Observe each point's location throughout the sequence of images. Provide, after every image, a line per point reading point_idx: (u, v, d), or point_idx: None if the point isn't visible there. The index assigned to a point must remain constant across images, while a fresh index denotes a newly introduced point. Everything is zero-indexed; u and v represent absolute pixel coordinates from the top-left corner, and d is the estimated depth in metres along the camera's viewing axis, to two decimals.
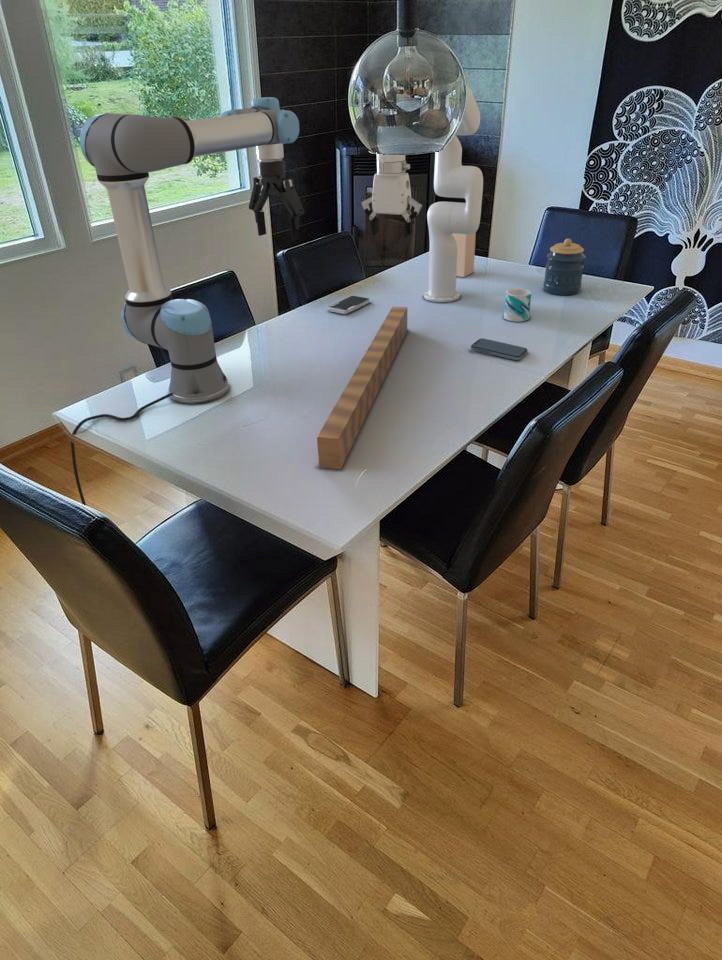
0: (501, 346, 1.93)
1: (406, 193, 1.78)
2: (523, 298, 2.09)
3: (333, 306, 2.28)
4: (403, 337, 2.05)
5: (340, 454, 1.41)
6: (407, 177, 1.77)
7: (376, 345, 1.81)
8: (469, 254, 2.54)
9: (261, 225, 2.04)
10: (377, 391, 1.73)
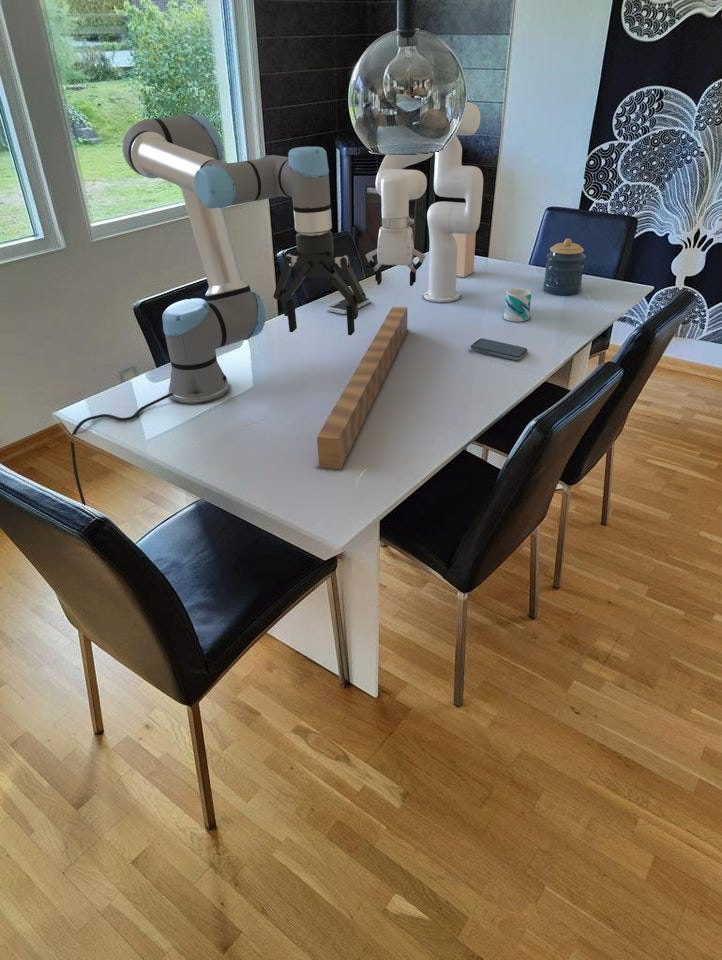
0: (501, 346, 1.93)
1: (411, 245, 1.88)
2: (523, 298, 2.09)
3: (333, 306, 2.28)
4: (403, 337, 2.05)
5: (340, 454, 1.41)
6: (411, 231, 1.87)
7: (376, 345, 1.81)
8: (469, 254, 2.54)
9: (293, 318, 1.48)
10: (377, 391, 1.73)
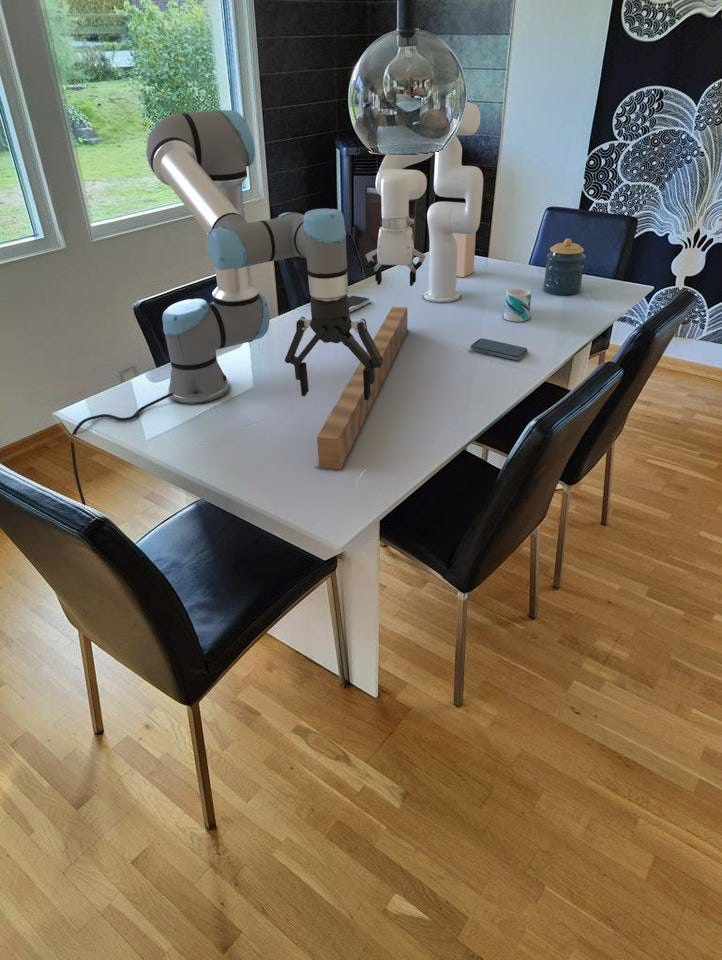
0: (501, 346, 1.93)
1: (411, 245, 1.88)
2: (523, 298, 2.09)
3: None
4: (403, 337, 2.05)
5: (340, 454, 1.41)
6: (411, 231, 1.87)
7: (376, 345, 1.81)
8: (469, 254, 2.54)
9: (305, 382, 1.41)
10: (377, 391, 1.73)
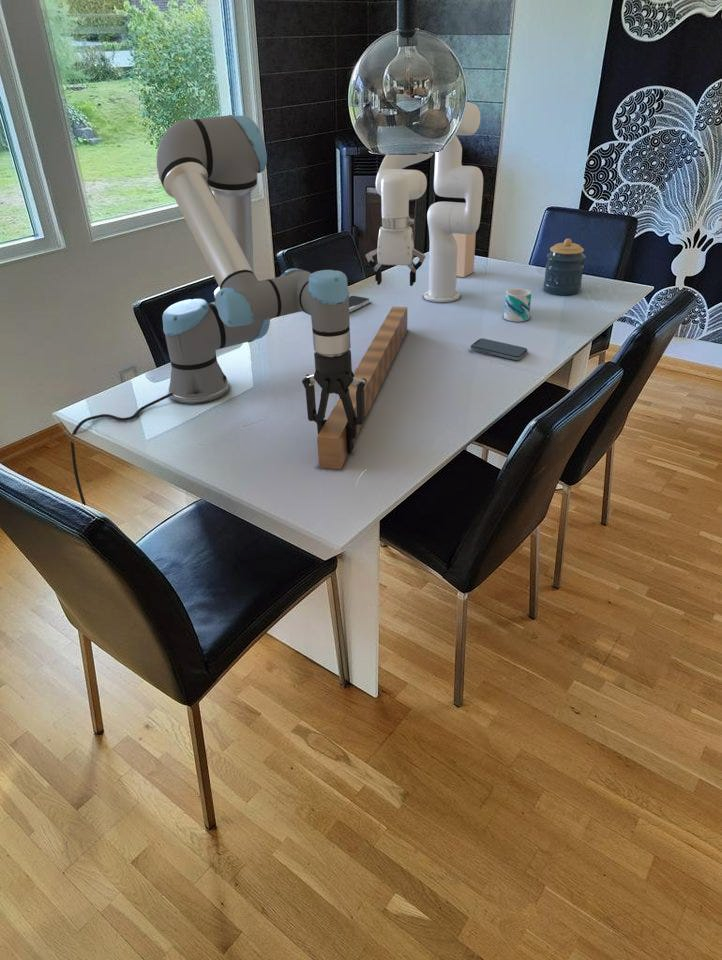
0: (501, 346, 1.93)
1: (411, 245, 1.88)
2: (523, 298, 2.09)
3: None
4: (403, 337, 2.05)
5: (340, 454, 1.41)
6: (411, 231, 1.87)
7: (376, 345, 1.81)
8: (469, 254, 2.54)
9: None
10: (377, 391, 1.73)
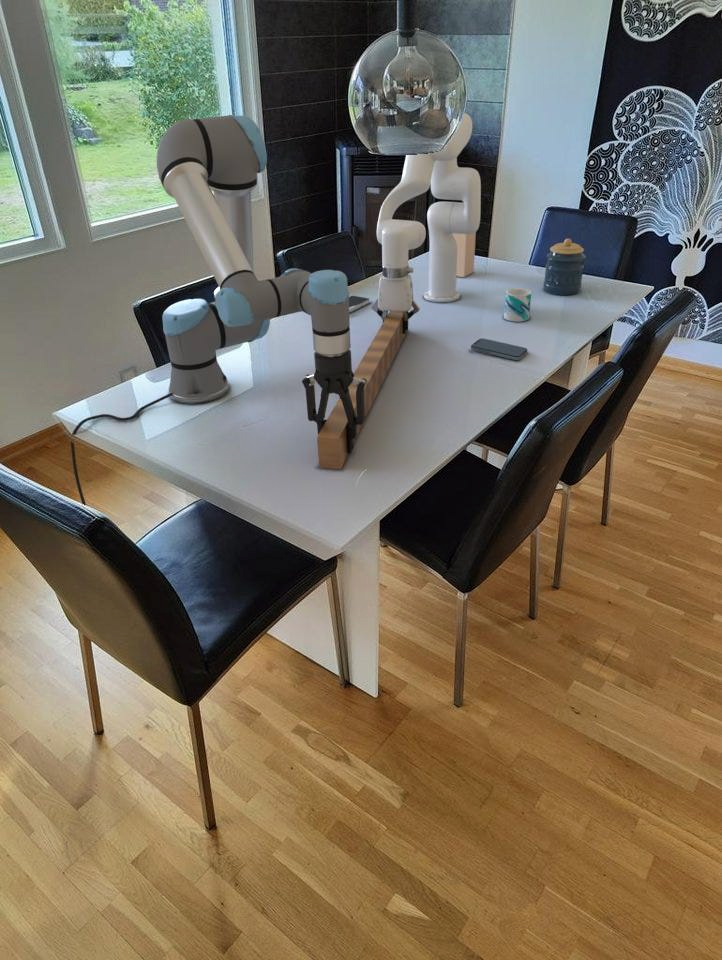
0: (501, 346, 1.93)
1: (411, 293, 1.95)
2: (523, 298, 2.09)
3: None
4: (403, 337, 2.05)
5: (340, 454, 1.41)
6: (411, 279, 1.95)
7: (376, 345, 1.81)
8: (469, 254, 2.54)
9: None
10: (377, 391, 1.73)
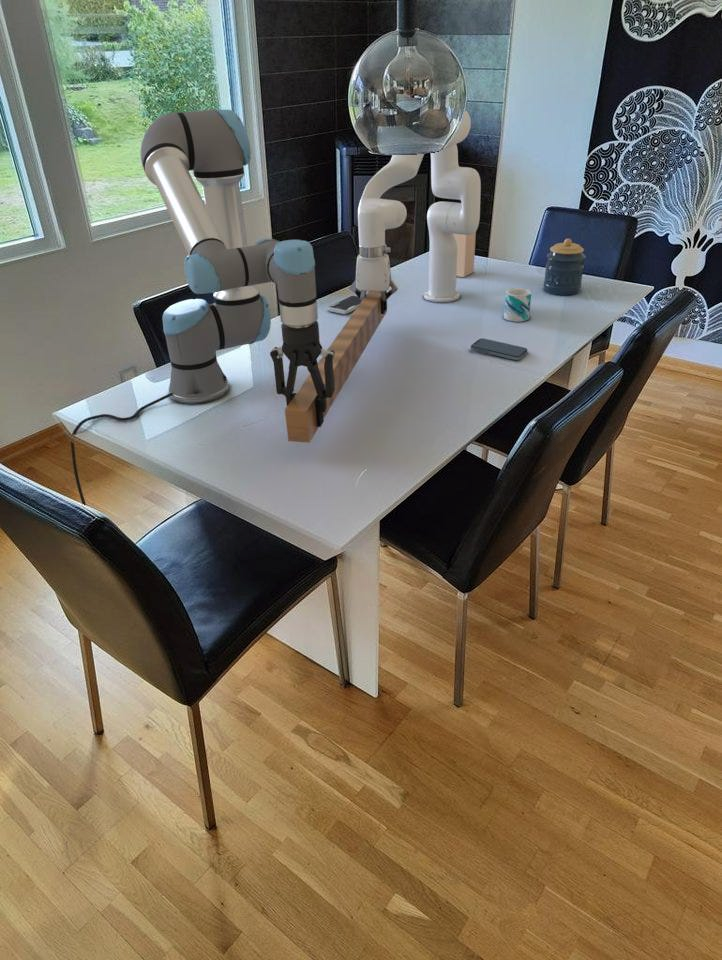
0: (501, 346, 1.93)
1: (388, 273, 1.95)
2: (523, 298, 2.09)
3: (333, 306, 2.28)
4: (382, 317, 2.04)
5: (308, 427, 1.41)
6: (388, 258, 1.94)
7: (352, 323, 1.80)
8: (469, 254, 2.54)
9: None
10: (352, 369, 1.73)
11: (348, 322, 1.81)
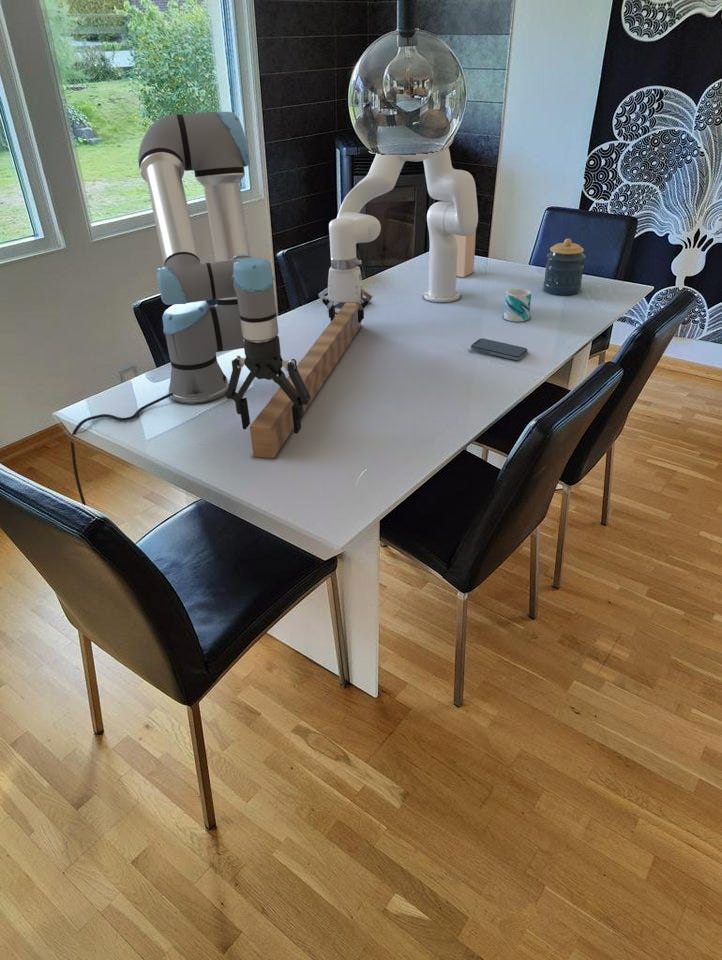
0: (501, 346, 1.93)
1: (359, 284, 1.99)
2: (523, 298, 2.09)
3: None
4: (355, 332, 2.09)
5: (273, 443, 1.46)
6: (359, 271, 1.98)
7: (323, 340, 1.86)
8: (469, 254, 2.54)
9: (246, 416, 1.51)
10: (321, 384, 1.78)
11: (319, 338, 1.87)
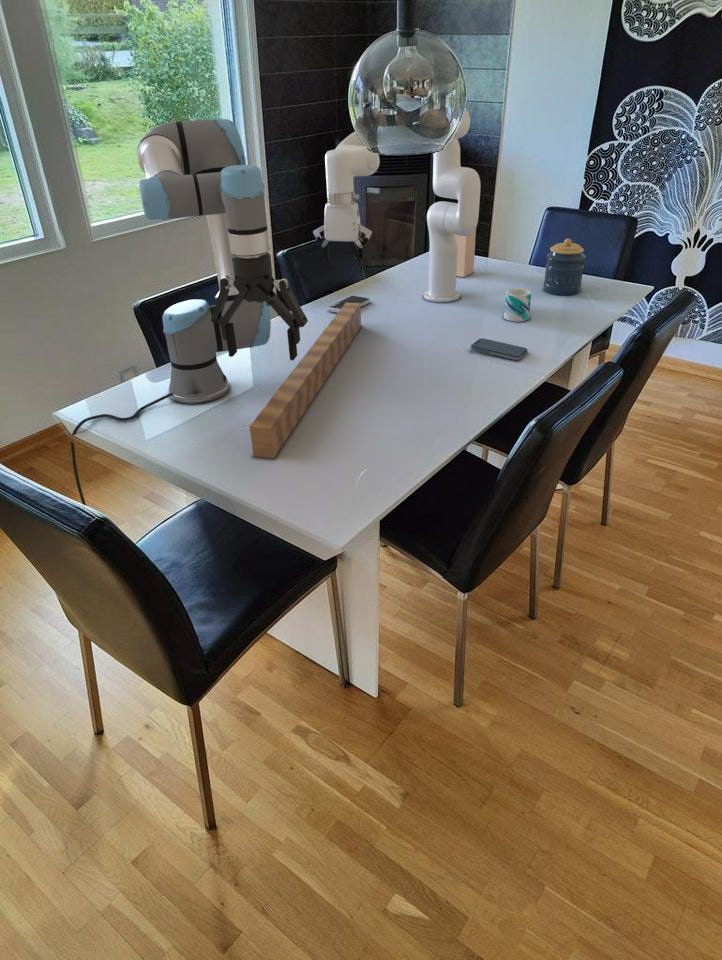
0: (501, 346, 1.93)
1: (357, 221, 1.89)
2: (523, 298, 2.09)
3: (333, 306, 2.28)
4: (355, 332, 2.09)
5: (273, 443, 1.46)
6: (357, 206, 1.88)
7: (323, 340, 1.86)
8: (469, 254, 2.54)
9: (232, 342, 1.41)
10: (321, 384, 1.78)
11: (319, 338, 1.87)
